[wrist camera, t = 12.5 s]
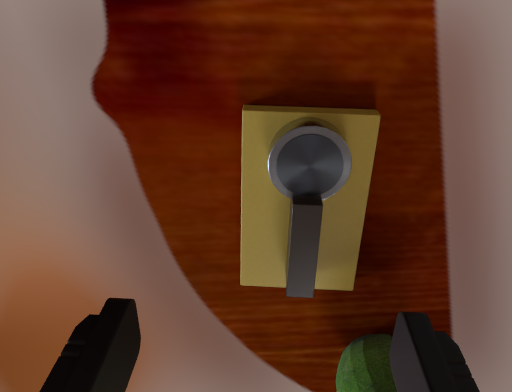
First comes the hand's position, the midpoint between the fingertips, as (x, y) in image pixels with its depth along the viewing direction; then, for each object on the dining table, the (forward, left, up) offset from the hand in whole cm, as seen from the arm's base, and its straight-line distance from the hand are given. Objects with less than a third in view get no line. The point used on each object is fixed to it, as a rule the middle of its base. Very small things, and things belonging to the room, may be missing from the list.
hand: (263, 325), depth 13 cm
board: (+7, +3, -22) cm, 23 cm away
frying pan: (+7, +3, -21) cm, 22 cm away
